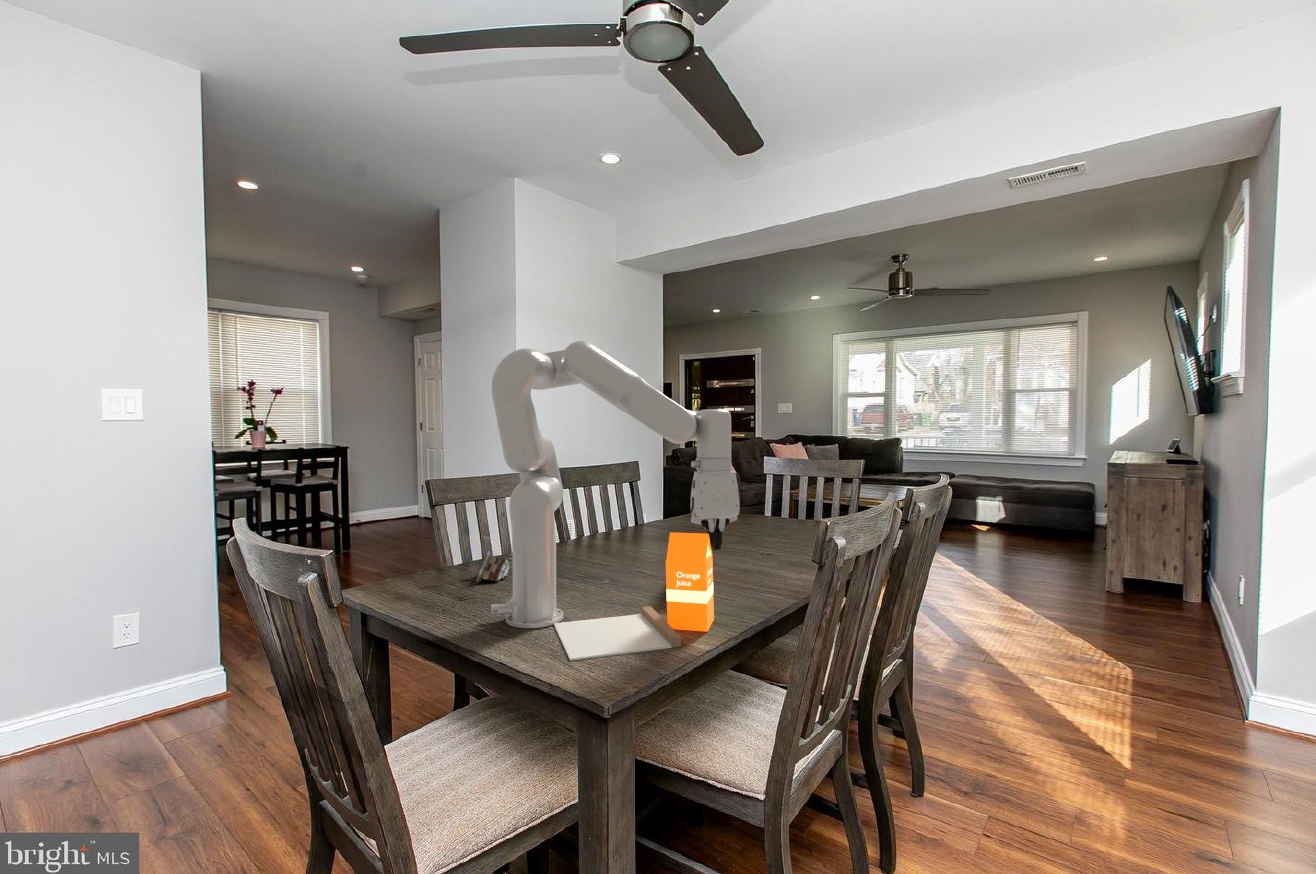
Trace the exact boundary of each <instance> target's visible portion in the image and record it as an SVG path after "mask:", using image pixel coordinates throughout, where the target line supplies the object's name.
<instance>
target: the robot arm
mask: <svg viewBox="0 0 1316 874" xmlns="http://www.w3.org/2000/svg"><path fill="white" fill-rule="evenodd" d="M493 373H494V374H493V376H492V380H491V396H492V397H491V398H492V401H493V406H494V411H495V416H496V422H497V428H498V434H499V437H500V442H501V443H500V444H501V447H502V453H503V457H504V461H505V463H506V465H507V466H508V467H509V469H510V470H512V471H514V472H515V473H519V478H520V482H519V483H518V484H517V485H516V486H515V488H514V489H513V490H512V493H511V494H510V498H509V506H508V507H509V517H510V525H511V539H512V540H511V541H512V542H511V545H512V547H511V548H512V549H511V550H512V551H511V552H512V597H510V600H509V601H506V602H505V603H501V604H500V603H495V604H494V603H493V604H491V614H497V616H504V615H505V623H506V624H507V625H508V626H511V627H514V628H517V629H518V628H519V629H540V628H541V629H542V628H545V627H546V628H547V627H550V626H554V624H555V623H561V621H562V620H563V619H564V611H563V610H562V609H560V608H559V607H557V537H556V536H557V534H556V524H555V523H556V521H555V511H556V510H558V508H560V506H561V504H562V502H563V499H564V487H563V481H562V478H561V472H560V468H559V463H558V458H557V453H556V450H555V447H554V444H553V442H552V440H551V438H550V437H549V436H548V435H547V434H546V433H544V432H543V431H540V429H539V423H538V420H537V414H536V412H537V411H536V410H535V406H534V403H533V399H532V396H531V395H532V390H536V391H538V390H539V391H541V390H542V391H543V390H548V389H550V390H551V389H555V388H561V387H567V386H574V385H579V384H581V385H583V386H584V387H585V388H587V389H589V390H590V391H591V392H592V393H595V394H596V395H598V396H600V398H602V399H603V400H605V401H607V402H608V403H610V404H611V405H613V406H614V407H616V409H618V410H620V411H621V412H623V413H626V414H628V415H629V416H631V417H632V418H634V419H635V420H637V421H639V423H641V424H643V425H644V426H646V427H647V428H649V429H651V430H652V431H653V432H655V433H657V434H658V435H659V436H661V437H662V438H664V439H665V440H667V441H668V442H671V443H672V444H675V445H676V444H677V445H679V444H680V445H681V444H685V443H687V442H690V441H696V458H695V460H692V461H691V463H690V466H691V468H695V470H696V471H694V473H693V478H692V483H691V489H690V490H691V491H690V513H691V518H690V522H691V523H692V524H695V525H700V526H702V527H703V528H704V530H706V534H709V540H710V545H711V550H712V551H721V549H722V545H723V532H724V531H725V529H726V527H727V525H729V524H731V523H733V522H736V521H738V516H739V514H740V494H739V485H738V481H737V475H736V474H737V473H736V471H732V415H731V412H730V411H729V410H728V409H721V408H720V409H719V408H715V409H714V408H713V409H712V408H711V409H710V408H709V409H701V410H691V409H686V408H684V407H683V406H682V405H680V404H678V403H677V402H676V401H674V400H672V399H671V398H669V397H668V396H666V395H665V394H663V393H662V392H661V391H660V390H658V389H656V388H655V387H653V386H652V385H651V384H649V383H648V382H647V381H646V380H645V379H644V378H642V377H641V375H639V374H637V373H636V372H635V371H633V370H631V369H630V368H628V367H627V366H625V365H623V364H622V363H621V362H619V361H617V360H616V359H614V358H613V357H611V356H610V355H609V354H607V353H605V352H604V351H602V350H601V349H600V348H598V347H596V346H595V345H593V344H591V343H590V342H587V341H585V340H584V341H583V340H578V341H577V340H576V341H574V342H573V341H572V342H571V343H570V344H568V346H567V347H565V349H562V350H557V351H550V352H540V351H538V350H536V349H533V348H519V349H516V350H513V351H512V352H511V353H509V354H507V355H506V356H505V357H504V358H503V359H502V360H501V361H500V362H499V363H498V365H497V366H496V368H495V370H494V372H493ZM710 545H709V546H710Z"/></svg>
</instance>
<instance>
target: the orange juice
mask: <svg viewBox="0 0 1316 874" xmlns="http://www.w3.org/2000/svg"><path fill="white" fill-rule="evenodd" d="M667 545H668V546H667V554H666V559H665V577H666V578H665V583H666V584H665V585H666V589H665V590H666V591H665V593H666V594H665V595H666V614H667V615H666V617H667V621H666V622H667V623H668V624H669V625H670V626H671V627H672V628H673V629H674V630H681V631H682V630H683V631H693V632H694V631H695V632H704V633H705V632H708V631H709V630H710V628H711V625H713V622H714V620H715V612H714V611H715V609H714V606H715V605H714V568H713V566H714V565H713V563H714V562H713V550H712V549H711V545H710V540H709V534H707V533H698V532H697V533H695V532H691V533H690V532H669V538H668V544H667ZM709 545H710V546H709Z"/></svg>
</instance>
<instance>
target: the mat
mask: <svg viewBox="0 0 1316 874" xmlns="http://www.w3.org/2000/svg"><path fill="white" fill-rule="evenodd" d="M553 626H554V629H555V630H556V633H557V635H558V637H559V638H558V639H560V642H561V645H562V646H563V649H564V650H565V653H566V655H567V657H568V659H569V661H570V662H571V661H580V660H587V659H589V660H590V659H595V658H596V659H597V658H602V657H603V658H604V657H610V656H619V655H626V654H632V653H634V654H635V653H641V652H642V653H643V652H649V651H651V652H652V651H658V650H667V649H672V648H674V649H675V648H681V647H682V636H681V635H680V634H679V633H678V632H677V631H676V629H673V628H672V627H671V626H670V625H669V624H668V623H667V621H666V620H665V619H664V618H663V617H662V616H661V615H660V614H659V613H658V612H657V611H656V609H654V608H653V607H652V606H651V605H647V606H642V607H641V613H639V614H638V613H637V614H628V615H620V616H610V617H600V618H591V619H583V620H573V621H563V622H558V623H555V624H554V625H553Z"/></svg>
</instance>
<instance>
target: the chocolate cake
mask: <svg viewBox="0 0 1316 874" xmlns="http://www.w3.org/2000/svg"><path fill="white" fill-rule="evenodd" d="M483 561H484V562H483V564H482V566H481V568H480V570H479V573H478V576H477V578H476V583H478V582H482V580H487V581H494V582H498V581H500V580H501V579H503V580H505V579H506V578H507V575H508V573H509V569H510V563H509V560H508V559H506V558H501V557H499V556H494V555H492V554H491V553H490V549H488V552H487V555H486V557H485V559H484V560H483Z"/></svg>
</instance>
